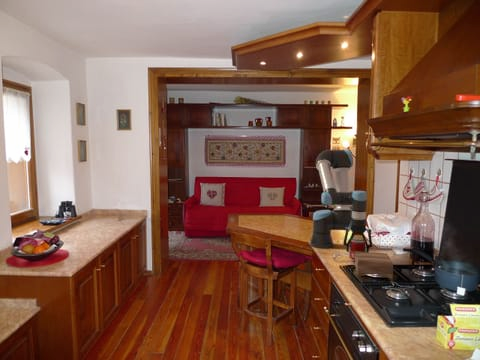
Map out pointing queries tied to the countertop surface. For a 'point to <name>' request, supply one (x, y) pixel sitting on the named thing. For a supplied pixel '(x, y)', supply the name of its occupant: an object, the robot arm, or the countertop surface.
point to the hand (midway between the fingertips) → (357, 257)
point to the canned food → (356, 246)
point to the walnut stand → (373, 264)
